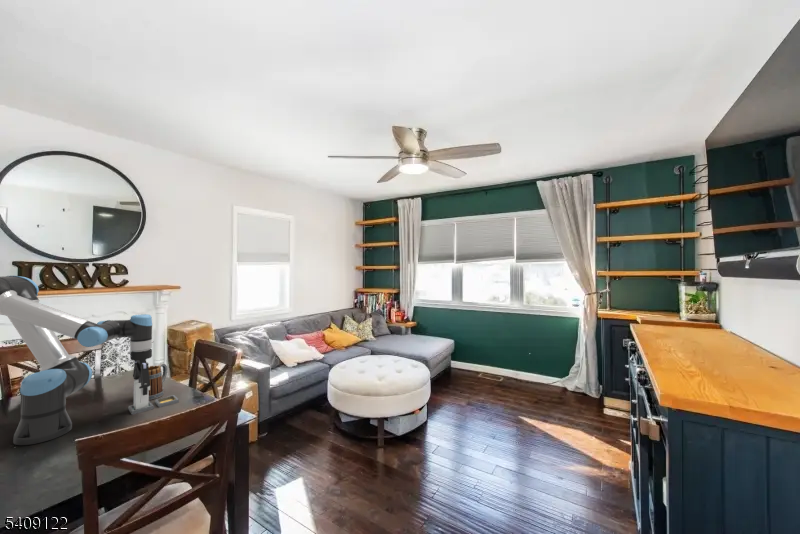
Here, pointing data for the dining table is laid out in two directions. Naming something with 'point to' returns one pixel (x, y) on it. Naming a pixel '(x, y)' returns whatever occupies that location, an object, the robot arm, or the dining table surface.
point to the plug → (138, 396)
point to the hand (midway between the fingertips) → (141, 397)
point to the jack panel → (159, 403)
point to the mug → (156, 380)
